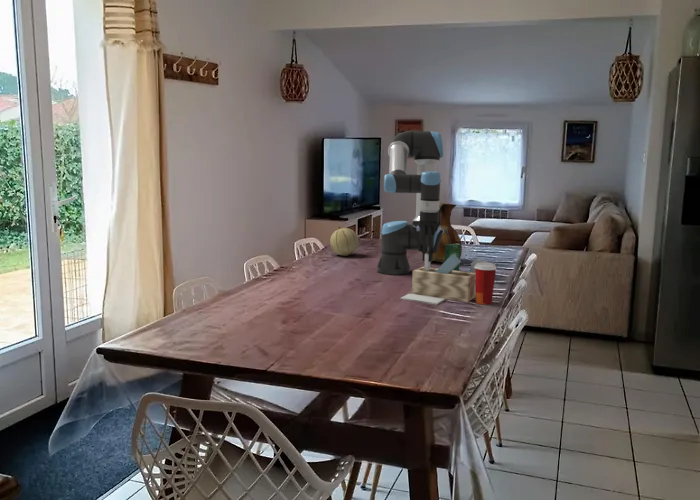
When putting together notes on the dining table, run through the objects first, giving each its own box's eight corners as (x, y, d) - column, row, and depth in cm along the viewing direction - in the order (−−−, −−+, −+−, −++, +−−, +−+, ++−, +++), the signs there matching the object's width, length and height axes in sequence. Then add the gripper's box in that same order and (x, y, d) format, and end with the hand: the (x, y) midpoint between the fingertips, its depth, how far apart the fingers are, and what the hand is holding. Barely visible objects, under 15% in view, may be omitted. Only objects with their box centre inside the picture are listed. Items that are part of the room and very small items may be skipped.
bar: (461, 261, 254) (454, 254, 255) (457, 263, 251) (450, 255, 252) (433, 290, 262) (426, 283, 263) (429, 292, 259) (422, 284, 260)
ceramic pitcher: (467, 260, 330) (470, 202, 324) (451, 267, 313) (454, 205, 308) (432, 256, 340) (434, 199, 335) (414, 262, 323) (416, 202, 318)
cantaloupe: (358, 258, 331) (358, 229, 329) (329, 257, 332) (329, 228, 329) (358, 253, 346) (358, 225, 343) (330, 252, 346) (331, 224, 343)
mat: (409, 295, 258) (409, 293, 258) (444, 300, 250) (444, 298, 250) (400, 299, 251) (400, 297, 251) (436, 304, 244) (436, 303, 243)
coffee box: (455, 270, 307) (456, 242, 304) (459, 271, 305) (461, 243, 302) (443, 272, 302) (444, 244, 299) (448, 273, 299) (449, 245, 297)
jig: (475, 296, 257) (477, 273, 255) (467, 302, 248) (468, 277, 246) (421, 289, 268) (422, 266, 266) (411, 294, 259) (412, 270, 258)
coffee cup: (495, 301, 250) (498, 263, 248) (493, 306, 243) (495, 267, 240) (474, 299, 253) (476, 261, 250) (470, 304, 245) (472, 265, 243)
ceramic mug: (486, 279, 288) (487, 262, 286) (469, 276, 293) (470, 260, 291) (496, 276, 296) (497, 259, 295) (480, 273, 301) (481, 257, 300)
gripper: (410, 210, 256) (408, 269, 260) (441, 213, 249) (438, 273, 254) (418, 208, 262) (416, 265, 266) (448, 211, 256) (445, 269, 260)
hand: (427, 269), depth 260 cm, fingers closed
